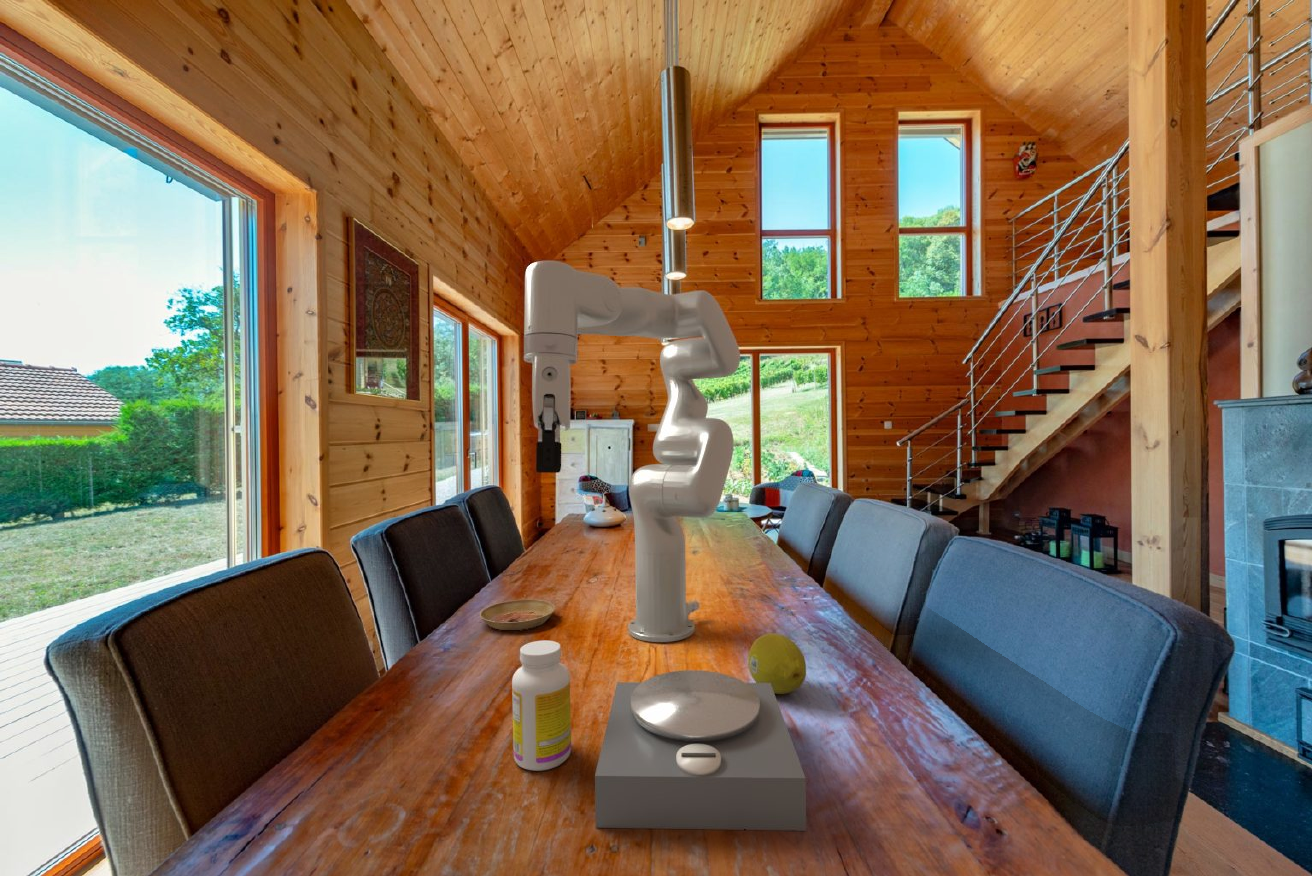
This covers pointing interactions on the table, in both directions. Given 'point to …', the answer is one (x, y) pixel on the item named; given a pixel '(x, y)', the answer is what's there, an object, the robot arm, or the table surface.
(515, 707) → the supplement bottle
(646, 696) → the scale pan
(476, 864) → the table surface
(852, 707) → the table surface
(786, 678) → the lemon
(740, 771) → the kitchen scale
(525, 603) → the plant saucer
